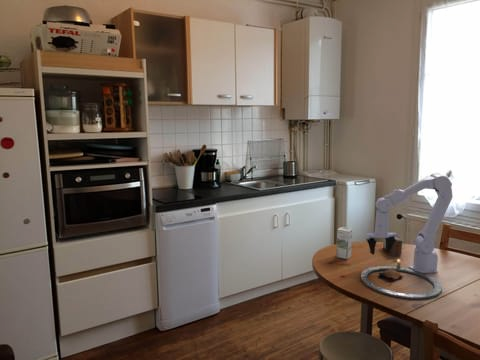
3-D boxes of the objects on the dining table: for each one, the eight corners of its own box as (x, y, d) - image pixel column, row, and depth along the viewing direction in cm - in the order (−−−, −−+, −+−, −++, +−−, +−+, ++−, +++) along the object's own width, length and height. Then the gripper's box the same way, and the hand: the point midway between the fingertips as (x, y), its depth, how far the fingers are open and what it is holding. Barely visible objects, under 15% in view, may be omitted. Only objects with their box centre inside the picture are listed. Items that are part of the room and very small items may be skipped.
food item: (380, 247, 210) (381, 229, 209) (396, 247, 210) (397, 229, 208) (387, 255, 197) (389, 236, 195) (404, 256, 196) (405, 237, 195)
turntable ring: (434, 270, 178) (435, 263, 178) (446, 304, 145) (447, 296, 145) (363, 260, 189) (363, 254, 188) (358, 291, 156) (359, 283, 155)
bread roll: (387, 272, 177) (388, 264, 177) (405, 278, 171) (406, 270, 170) (374, 278, 171) (375, 270, 170) (392, 284, 164) (393, 276, 164)
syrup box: (351, 256, 195) (352, 228, 193) (347, 260, 190) (349, 230, 188) (339, 254, 198) (341, 226, 196) (335, 257, 193) (337, 228, 191)
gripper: (391, 221, 184) (389, 249, 186) (362, 222, 181) (361, 251, 183) (400, 225, 177) (398, 254, 179) (370, 227, 174) (368, 256, 176)
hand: (379, 253), depth 181 cm, fingers open, 7 cm apart
